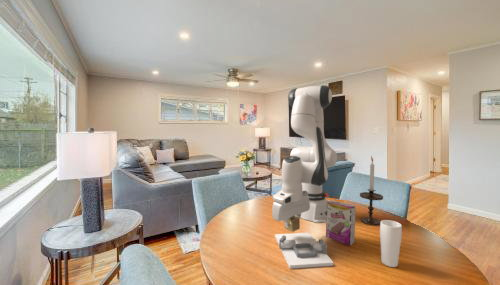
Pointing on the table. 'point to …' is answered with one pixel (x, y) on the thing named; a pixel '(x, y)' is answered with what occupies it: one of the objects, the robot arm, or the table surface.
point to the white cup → (390, 242)
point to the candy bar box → (340, 222)
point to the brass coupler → (293, 223)
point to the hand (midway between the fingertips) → (292, 224)
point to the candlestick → (371, 199)
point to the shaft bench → (303, 250)
